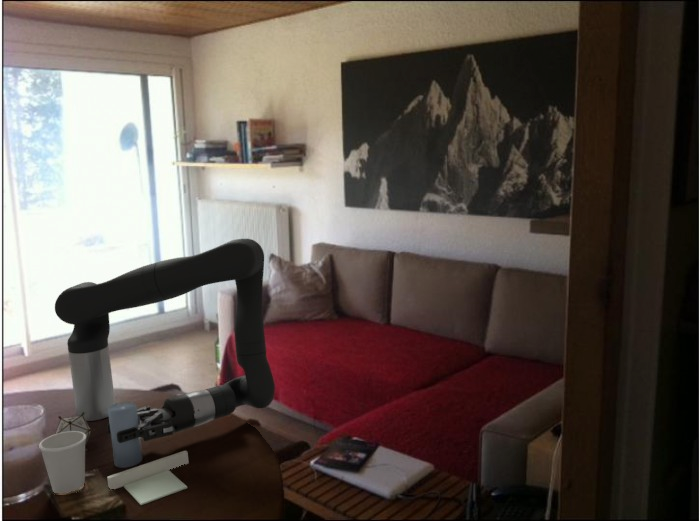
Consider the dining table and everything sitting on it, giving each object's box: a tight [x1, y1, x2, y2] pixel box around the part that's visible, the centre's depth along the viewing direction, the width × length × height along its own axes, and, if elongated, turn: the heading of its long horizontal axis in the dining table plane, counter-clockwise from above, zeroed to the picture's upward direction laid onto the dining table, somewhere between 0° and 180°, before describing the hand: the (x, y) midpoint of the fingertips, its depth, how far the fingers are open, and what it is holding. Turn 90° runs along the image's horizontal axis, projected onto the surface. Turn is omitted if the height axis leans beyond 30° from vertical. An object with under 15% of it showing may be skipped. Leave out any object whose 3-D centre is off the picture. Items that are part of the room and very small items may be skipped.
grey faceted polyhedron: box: [54, 412, 95, 452], centre depth 142 cm, size 9×8×10 cm
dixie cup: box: [38, 431, 86, 494], centre depth 125 cm, size 8×8×10 cm
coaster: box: [123, 470, 188, 506], centre depth 124 cm, size 9×9×1 cm
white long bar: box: [106, 450, 190, 490], centre depth 129 cm, size 1×16×2 cm, turn 128°
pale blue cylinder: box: [108, 401, 144, 469], centre depth 135 cm, size 6×6×12 cm
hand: (112, 433), depth 134 cm, fingers closed on pale blue cylinder, 5 cm apart
